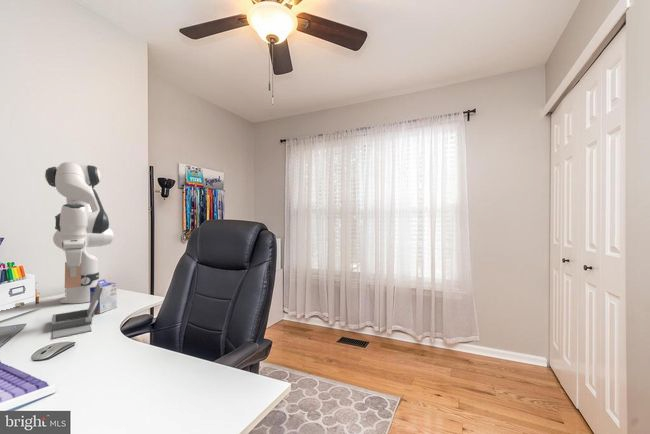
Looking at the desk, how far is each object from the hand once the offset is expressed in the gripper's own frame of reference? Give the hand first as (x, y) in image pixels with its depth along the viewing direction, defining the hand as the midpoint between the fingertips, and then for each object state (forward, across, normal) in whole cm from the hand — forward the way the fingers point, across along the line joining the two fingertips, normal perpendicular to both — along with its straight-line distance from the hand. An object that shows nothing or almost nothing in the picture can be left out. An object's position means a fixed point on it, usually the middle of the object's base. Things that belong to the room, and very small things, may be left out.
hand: (72, 275), depth 119 cm
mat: (+20, +12, 0) cm, 24 cm away
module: (+5, 0, 0) cm, 5 cm away
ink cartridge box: (+20, -12, +12) cm, 26 cm away
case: (+20, +1, +2) cm, 20 cm away
